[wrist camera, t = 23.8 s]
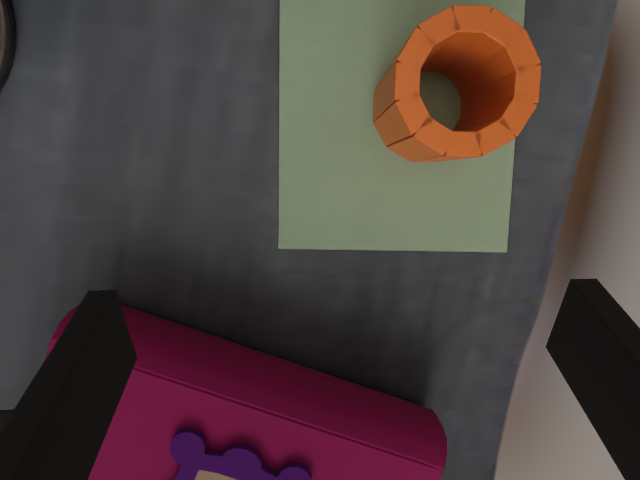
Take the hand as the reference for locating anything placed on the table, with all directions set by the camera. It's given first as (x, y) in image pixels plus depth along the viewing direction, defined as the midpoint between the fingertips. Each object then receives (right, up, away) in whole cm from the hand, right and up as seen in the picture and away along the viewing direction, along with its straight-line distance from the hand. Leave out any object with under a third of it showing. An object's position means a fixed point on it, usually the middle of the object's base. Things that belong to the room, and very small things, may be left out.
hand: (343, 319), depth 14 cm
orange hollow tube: (+7, +12, +21) cm, 25 cm away
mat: (+5, +12, +21) cm, 25 cm away
